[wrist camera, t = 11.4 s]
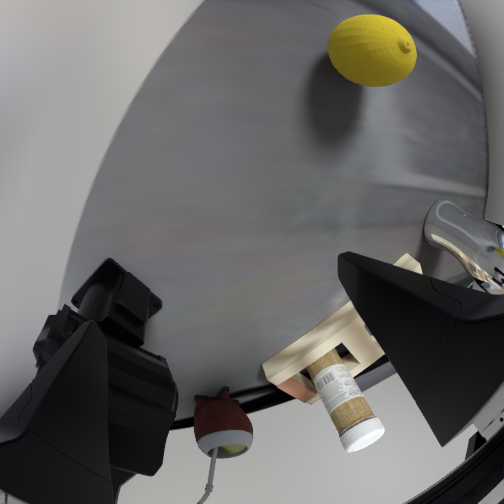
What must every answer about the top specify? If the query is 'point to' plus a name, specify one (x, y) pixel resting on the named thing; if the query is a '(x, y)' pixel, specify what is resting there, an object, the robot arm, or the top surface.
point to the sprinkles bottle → (345, 402)
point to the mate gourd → (220, 430)
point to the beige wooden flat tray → (328, 348)
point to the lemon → (372, 50)
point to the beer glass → (468, 243)
